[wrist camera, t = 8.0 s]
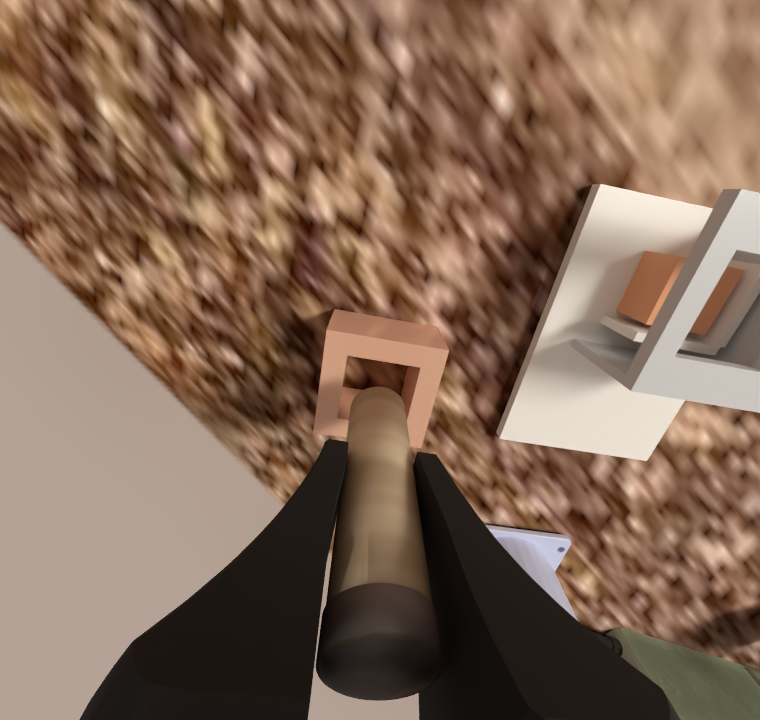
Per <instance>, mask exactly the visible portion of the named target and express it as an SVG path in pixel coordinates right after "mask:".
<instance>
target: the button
mask: <svg viewBox="0 0 760 720" xmlns="http://www.w3.org/2000/svg"><path fill="white" fill-rule="evenodd" d="M686 259H687V258H683V257H678V256H672V255H667V254H661V253H656V252H651V251H645V252H644V254H643V256H642V258H641V260H640V262H639V264H638V266H637V268H636V270H635V273H634V275H633V277H632V279H631V281H630V283H629V285H628V287H627V289H626V291H625V293H624V296H623V298H622V300H621V302H620V304H619V306H618V308H617V310H616V311H618V312H620V313H622V314H624V315H627V316H629V317H631V318H633V319H635V320H638V321H640V322H642V323H644V324H647V325H652V324H653V322H654V320H655V318H656V316H657V314H658V312H659V310H660V308H661V307H662V305H663V303H664V301H665V299H666V297H667V295H668V293H669V291H670V290H671V288H672V286H673V284H674V282H675V280H676V278H677V276H678V274H679V273H680V271H681V269H682V267H683V265H684V263H685V261H686ZM744 271H745V270H742V269H737V268H732V267H726V269H725V271H724V272H723V274H722V276H721V278H720V279H719V281H718V283H717V285H716V286H715V288H714V290H713V291H712V293H711V295H710V297H709V298H708V300H707V302H706V303H705V305H704V307H703V309H702V310H701V312H700V314H699V316H698V317H697V319H696V321H695V322H694V324H693V326H692V328H691V329H690V331H689V332H690V333H696V334H701V335H706V334H707V332H708V331H709V329H710V327H711V326H712V324H713V322H714V321H715V319H716V317H717V316H718V314H719V312H720V311H721V309H722V307H723V306H724V304H725V302H726V301H727V299H728V297H729V296H730V294H731V292H732V291H733V289H734V287H735V286H736V284H737V282H738V281H739V279H740V278H741V276H742V274H743V273H744Z"/></svg>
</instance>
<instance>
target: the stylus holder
mask: <svg viewBox="0 0 760 720" xmlns="http://www.w3.org/2000/svg"><path fill="white" fill-rule="evenodd" d="M448 353H449V349H448V347H447V345H446V343H445V341H444V339H443V337H442V335H441V333H440V331H439V329H438V327H434V326H428V325H423V324H417V323H411V322H405V321H400V320H394V319H388V318H383V317H377V316H371V315H366V314H360V313H354V312H348V311H343V310H337V309H334V312H333V314H332V317H331V319H330V322H329V325H328V327H327V330H326V338H325V345H324V353H323V361H322V368H321V376H320V384H319V392H318V399H317V407H316V415H315V423H314V430H313V433H319V434H326V435H333V436H340V437H347V431H348V423H349V415H350V407H351V403H352V401H353V399H354V398H355V396H356V395H357V394H358V393H360V392H361V391H363V390H360V389H354V388H348V387H343V383H344V376H345V370H346V364H347V358H348V356H353V357H359V358H365V359H371V360H377V361H383V362H389V363H395V364H401V365H407V366H408V369H407V373H406V377H405V381H404V385H403V389H402V394H401V396H400V397H401V398H402V400H403V402H404V405H405V412H406V419H407V426H408V433H409V440H410V447H416V448H421V446H422V443H423V439H424V436H425V432H426V429H427V425H428V422H429V419H430V415H431V412H432V408H433V405H434V401H435V398H436V394H437V391H438V387H439V384H440V380H441V377H442V374H443V370H444V367H445V363H446V360H447V356H448Z"/></svg>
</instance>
